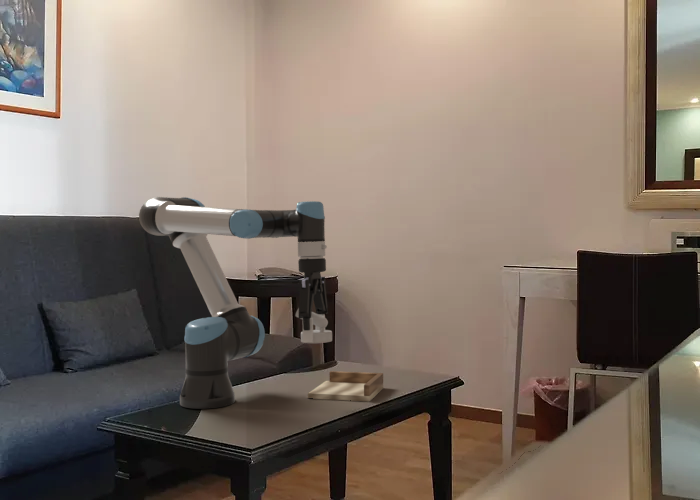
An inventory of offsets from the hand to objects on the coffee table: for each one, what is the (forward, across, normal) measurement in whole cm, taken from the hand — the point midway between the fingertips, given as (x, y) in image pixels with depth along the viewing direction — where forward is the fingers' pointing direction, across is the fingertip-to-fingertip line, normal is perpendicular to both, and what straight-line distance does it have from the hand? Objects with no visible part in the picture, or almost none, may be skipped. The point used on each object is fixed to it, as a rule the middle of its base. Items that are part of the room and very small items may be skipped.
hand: (314, 339), depth 207 cm
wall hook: (+1, 0, 0) cm, 1 cm away
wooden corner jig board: (+18, +15, -4) cm, 24 cm away
